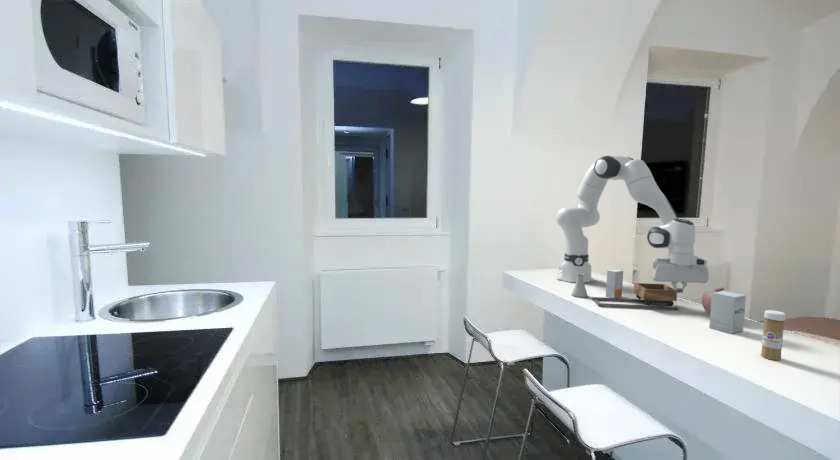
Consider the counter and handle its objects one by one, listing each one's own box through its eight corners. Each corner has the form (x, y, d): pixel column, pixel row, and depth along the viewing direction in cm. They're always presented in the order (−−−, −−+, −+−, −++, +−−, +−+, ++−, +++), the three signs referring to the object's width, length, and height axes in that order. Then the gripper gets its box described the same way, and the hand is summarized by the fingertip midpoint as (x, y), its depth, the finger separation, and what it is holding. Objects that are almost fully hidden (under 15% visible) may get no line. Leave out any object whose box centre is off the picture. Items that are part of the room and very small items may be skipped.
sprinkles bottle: (760, 358, 120) (764, 312, 119) (761, 353, 124) (764, 308, 122) (781, 362, 117) (785, 315, 116) (781, 357, 121) (785, 311, 119)
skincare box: (614, 298, 186) (615, 271, 184) (605, 296, 189) (606, 270, 188) (622, 296, 189) (623, 270, 188) (613, 294, 192) (614, 268, 191)
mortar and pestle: (741, 318, 158) (744, 288, 157) (737, 325, 149) (740, 293, 148) (703, 311, 166) (706, 283, 165) (697, 318, 158) (699, 288, 156)
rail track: (592, 299, 183) (592, 297, 183) (666, 302, 179) (666, 300, 179) (598, 306, 172) (599, 303, 172) (678, 310, 168) (678, 307, 168)
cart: (633, 297, 181) (634, 283, 180) (663, 299, 179) (664, 284, 179) (643, 305, 169) (644, 289, 169) (676, 306, 167) (677, 290, 167)
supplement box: (732, 334, 140) (735, 297, 139) (708, 328, 146) (711, 292, 145) (744, 331, 143) (747, 294, 142) (720, 324, 150) (722, 290, 149)
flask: (585, 294, 194) (586, 272, 193) (590, 298, 186) (591, 275, 185) (569, 293, 194) (570, 272, 193) (573, 297, 187) (574, 275, 186)
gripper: (656, 259, 170) (654, 293, 171) (711, 261, 167) (709, 295, 168) (650, 257, 176) (648, 289, 177) (703, 258, 173) (701, 291, 174)
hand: (678, 292), depth 173 cm, fingers closed
